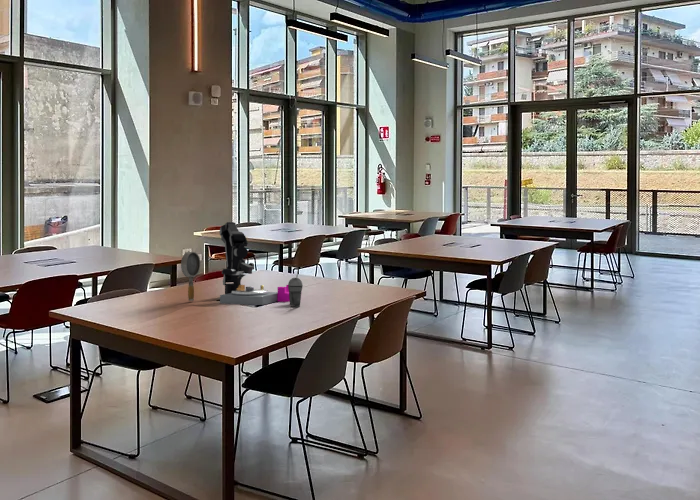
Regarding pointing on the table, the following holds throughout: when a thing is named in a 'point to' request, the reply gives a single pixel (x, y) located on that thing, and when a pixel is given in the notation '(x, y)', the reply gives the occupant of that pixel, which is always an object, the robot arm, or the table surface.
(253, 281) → the table surface
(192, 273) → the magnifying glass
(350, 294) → the table surface
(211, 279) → the table surface
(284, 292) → the toy block
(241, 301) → the jig block
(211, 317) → the table surface
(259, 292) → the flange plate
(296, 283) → the beverage cup
